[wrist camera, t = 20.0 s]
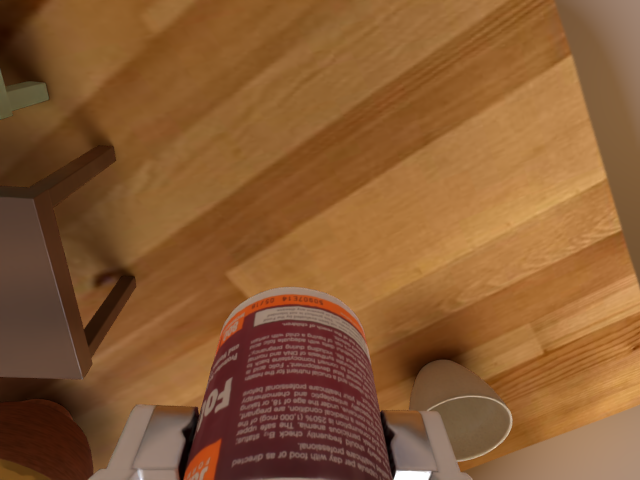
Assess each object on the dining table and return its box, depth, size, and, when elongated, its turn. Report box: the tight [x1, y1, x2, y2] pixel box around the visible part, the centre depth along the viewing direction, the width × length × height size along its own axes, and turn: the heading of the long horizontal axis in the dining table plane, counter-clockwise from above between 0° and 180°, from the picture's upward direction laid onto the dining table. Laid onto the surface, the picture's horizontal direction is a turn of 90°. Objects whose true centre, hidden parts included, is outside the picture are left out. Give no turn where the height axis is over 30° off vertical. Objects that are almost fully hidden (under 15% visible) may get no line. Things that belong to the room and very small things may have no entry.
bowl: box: [0, 399, 93, 480], centre depth 42 cm, size 18×18×10 cm
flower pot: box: [409, 360, 512, 462], centre depth 42 cm, size 10×10×7 cm
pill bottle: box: [183, 287, 393, 480], centre depth 10 cm, size 5×5×8 cm
